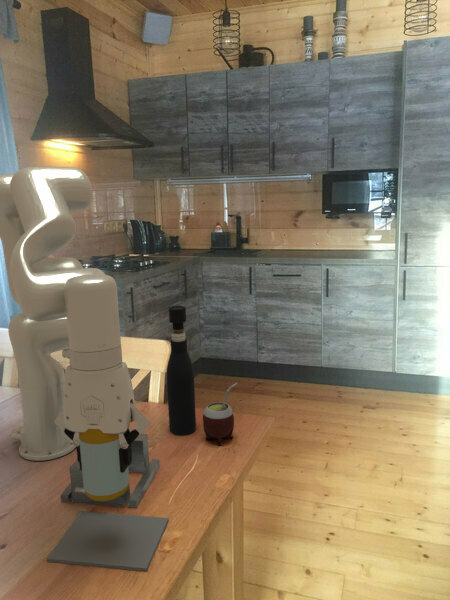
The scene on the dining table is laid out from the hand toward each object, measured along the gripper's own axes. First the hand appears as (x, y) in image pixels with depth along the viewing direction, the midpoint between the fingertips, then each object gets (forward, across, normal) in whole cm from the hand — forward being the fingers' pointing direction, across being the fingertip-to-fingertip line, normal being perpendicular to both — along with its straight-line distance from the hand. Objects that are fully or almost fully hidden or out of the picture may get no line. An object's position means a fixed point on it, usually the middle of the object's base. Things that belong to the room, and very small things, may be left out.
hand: (105, 465), depth 78 cm
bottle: (+5, 0, 0) cm, 5 cm away
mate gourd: (+13, +12, +36) cm, 40 cm away
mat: (+13, 0, 0) cm, 13 cm away
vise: (+13, -6, +15) cm, 21 cm away
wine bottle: (+13, +2, +40) cm, 42 cm away
